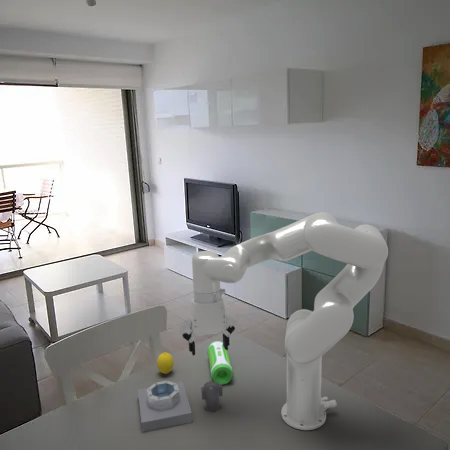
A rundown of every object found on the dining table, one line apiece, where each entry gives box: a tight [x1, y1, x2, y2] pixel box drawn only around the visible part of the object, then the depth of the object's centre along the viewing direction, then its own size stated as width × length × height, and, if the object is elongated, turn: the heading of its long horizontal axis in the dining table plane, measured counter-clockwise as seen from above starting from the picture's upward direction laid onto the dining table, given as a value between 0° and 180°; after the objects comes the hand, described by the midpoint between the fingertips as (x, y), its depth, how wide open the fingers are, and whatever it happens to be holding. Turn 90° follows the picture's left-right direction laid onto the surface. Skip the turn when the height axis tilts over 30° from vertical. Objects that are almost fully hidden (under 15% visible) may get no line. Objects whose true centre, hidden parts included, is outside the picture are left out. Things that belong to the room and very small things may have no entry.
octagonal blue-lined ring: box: [147, 380, 180, 411], centre depth 125 cm, size 9×9×4 cm
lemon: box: [156, 351, 175, 375], centre depth 144 cm, size 6×6×8 cm
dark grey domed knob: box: [200, 380, 223, 413], centre depth 126 cm, size 6×5×7 cm
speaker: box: [206, 340, 234, 386], centre depth 145 cm, size 18×7×8 cm, turn 7°
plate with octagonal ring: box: [137, 381, 193, 433], centre depth 126 cm, size 14×16×3 cm
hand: (209, 350), depth 123 cm, fingers open, 9 cm apart
